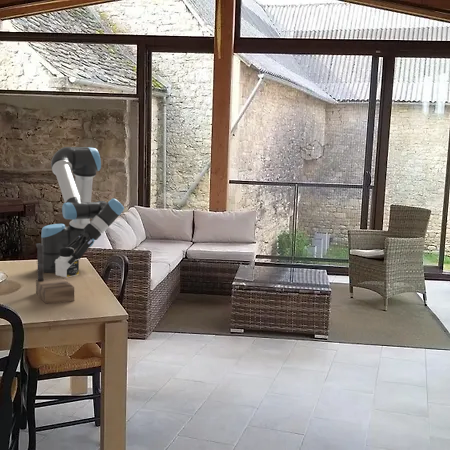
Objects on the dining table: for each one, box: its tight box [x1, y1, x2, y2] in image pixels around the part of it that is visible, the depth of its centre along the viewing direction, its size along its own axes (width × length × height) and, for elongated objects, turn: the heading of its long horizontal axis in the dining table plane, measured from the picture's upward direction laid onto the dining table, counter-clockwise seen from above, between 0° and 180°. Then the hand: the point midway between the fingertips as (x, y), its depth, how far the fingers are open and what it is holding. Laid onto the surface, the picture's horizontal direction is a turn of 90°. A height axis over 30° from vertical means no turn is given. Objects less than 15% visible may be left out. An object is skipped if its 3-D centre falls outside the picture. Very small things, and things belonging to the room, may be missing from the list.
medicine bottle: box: [55, 247, 80, 279], centre depth 266 cm, size 7×7×12 cm
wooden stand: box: [35, 243, 75, 305], centre depth 266 cm, size 20×12×22 cm, turn 29°
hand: (59, 266), depth 265 cm, fingers closed on medicine bottle, 9 cm apart
